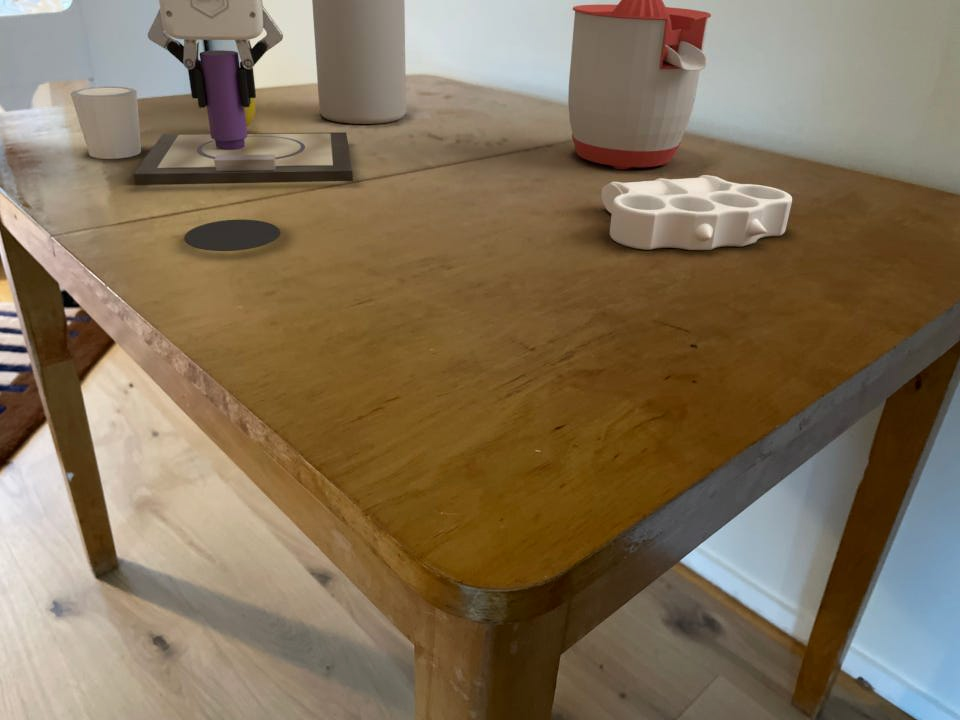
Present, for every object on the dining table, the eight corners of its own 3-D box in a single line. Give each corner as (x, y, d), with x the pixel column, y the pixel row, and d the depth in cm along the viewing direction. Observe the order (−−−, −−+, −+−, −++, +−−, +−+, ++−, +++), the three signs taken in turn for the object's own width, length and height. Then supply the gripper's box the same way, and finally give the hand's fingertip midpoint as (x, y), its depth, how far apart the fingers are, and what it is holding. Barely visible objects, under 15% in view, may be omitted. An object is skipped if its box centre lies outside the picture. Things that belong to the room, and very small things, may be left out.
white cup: (69, 156, 90) (55, 92, 86) (113, 143, 95) (102, 83, 92) (117, 163, 88) (105, 98, 84) (159, 149, 94) (149, 89, 90)
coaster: (178, 256, 64) (177, 252, 63) (191, 224, 71) (190, 220, 70) (279, 253, 65) (278, 248, 65) (282, 222, 72) (281, 218, 72)
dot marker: (210, 150, 87) (197, 55, 83) (214, 141, 91) (201, 50, 86) (247, 149, 88) (236, 55, 83) (249, 141, 91) (239, 50, 87)
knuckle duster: (723, 198, 83) (818, 244, 71) (570, 211, 78) (646, 264, 66) (728, 166, 82) (827, 209, 70) (573, 177, 76) (651, 225, 64)
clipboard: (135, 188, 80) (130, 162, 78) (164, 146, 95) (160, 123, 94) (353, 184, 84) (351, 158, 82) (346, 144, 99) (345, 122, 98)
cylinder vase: (404, 108, 120) (401, -78, 108) (408, 125, 110) (405, -79, 98) (321, 107, 119) (309, -81, 107) (317, 125, 108) (303, -82, 96)
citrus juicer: (628, 186, 86) (653, -14, 77) (535, 150, 99) (547, -25, 89) (725, 169, 94) (759, -15, 84) (627, 139, 107) (647, -24, 97)
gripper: (104, -87, 74) (140, 112, 83) (286, -81, 77) (301, 111, 85) (121, -86, 80) (152, 99, 89) (288, -80, 83) (302, 98, 92)
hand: (225, 103), depth 87 cm, fingers closed on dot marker, 4 cm apart
